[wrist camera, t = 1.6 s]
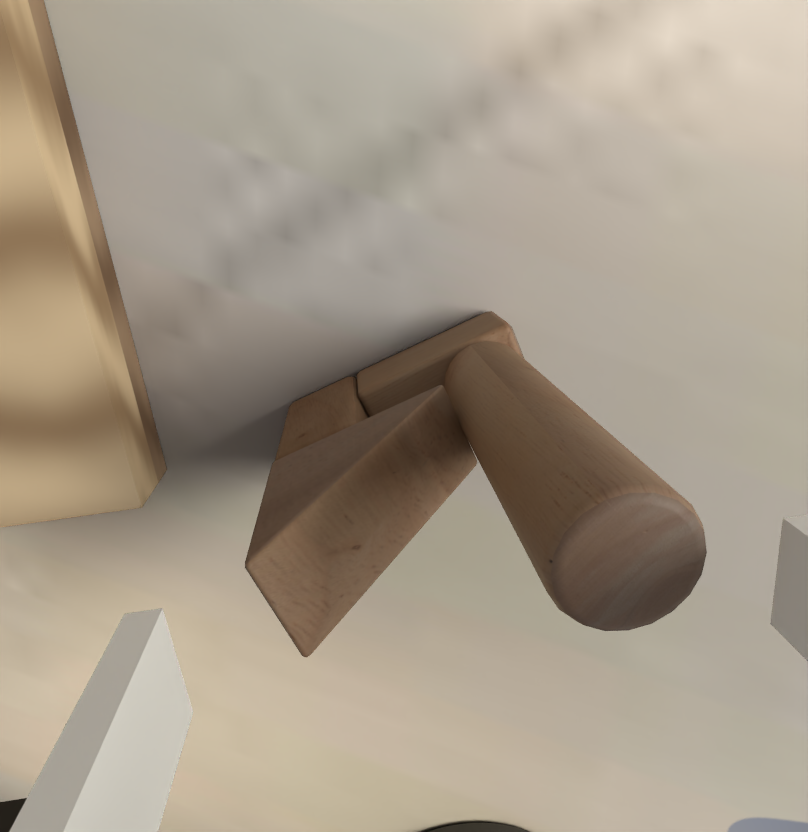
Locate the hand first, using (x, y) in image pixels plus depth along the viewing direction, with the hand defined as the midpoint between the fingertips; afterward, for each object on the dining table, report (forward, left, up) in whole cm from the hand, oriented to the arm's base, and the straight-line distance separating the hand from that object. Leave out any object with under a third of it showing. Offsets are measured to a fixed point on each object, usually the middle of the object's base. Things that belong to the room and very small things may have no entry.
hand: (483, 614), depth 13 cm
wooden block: (0, 0, -18) cm, 18 cm away
